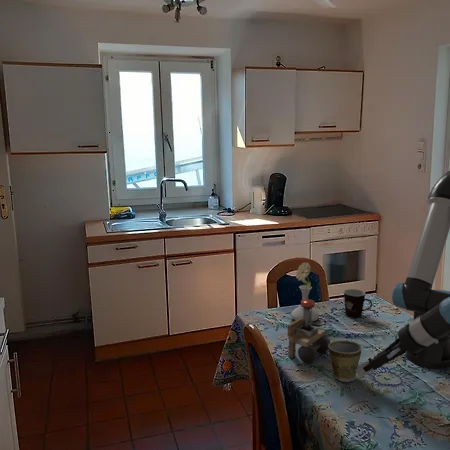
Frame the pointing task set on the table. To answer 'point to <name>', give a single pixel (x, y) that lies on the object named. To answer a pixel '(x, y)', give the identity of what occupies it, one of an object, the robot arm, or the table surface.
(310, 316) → the pin
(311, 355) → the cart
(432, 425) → the table surface
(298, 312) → the flower in vase
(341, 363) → the ceramic cup
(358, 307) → the coffee mug
